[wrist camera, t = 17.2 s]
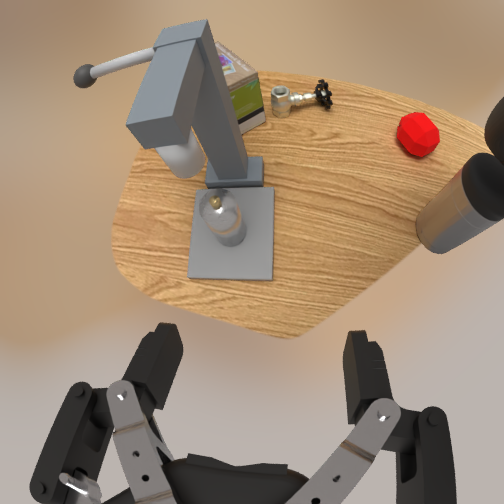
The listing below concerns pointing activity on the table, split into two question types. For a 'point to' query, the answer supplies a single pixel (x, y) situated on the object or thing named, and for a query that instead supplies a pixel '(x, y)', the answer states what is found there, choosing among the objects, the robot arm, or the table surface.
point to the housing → (223, 216)
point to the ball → (418, 134)
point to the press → (188, 150)
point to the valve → (297, 98)
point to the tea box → (242, 89)
